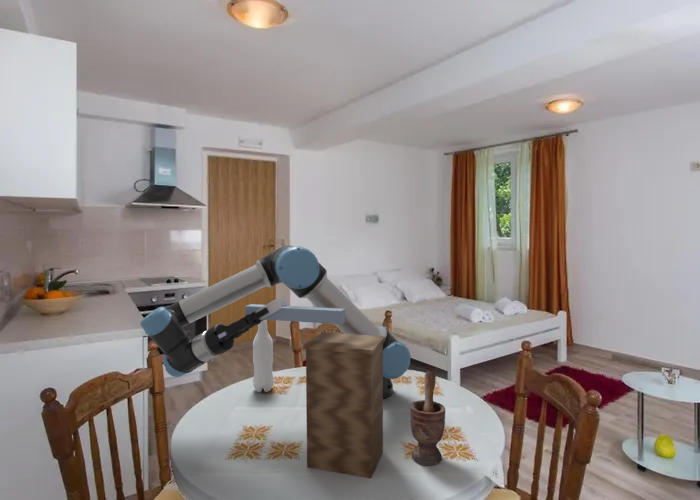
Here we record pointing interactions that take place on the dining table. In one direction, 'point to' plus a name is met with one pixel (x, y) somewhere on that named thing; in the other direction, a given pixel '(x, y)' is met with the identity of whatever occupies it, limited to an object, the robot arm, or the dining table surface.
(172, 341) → the robot arm
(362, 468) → the stand
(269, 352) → the water bottle
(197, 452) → the dining table surface
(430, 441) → the mortar and pestle
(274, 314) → the bar
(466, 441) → the dining table surface
